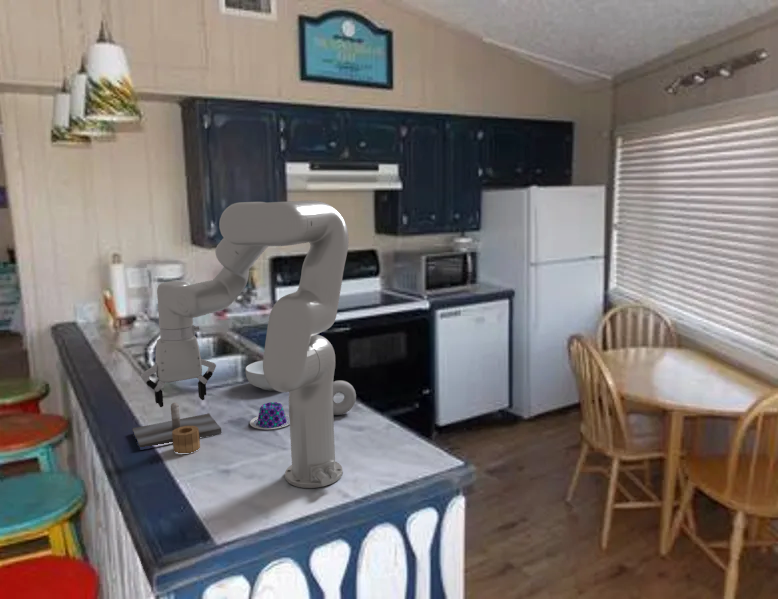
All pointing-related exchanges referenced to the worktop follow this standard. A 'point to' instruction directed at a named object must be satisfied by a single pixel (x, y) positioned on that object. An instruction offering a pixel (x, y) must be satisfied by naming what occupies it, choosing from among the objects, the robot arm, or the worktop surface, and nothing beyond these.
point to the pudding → (270, 416)
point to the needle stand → (163, 431)
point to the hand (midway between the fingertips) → (181, 401)
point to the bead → (186, 439)
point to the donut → (348, 397)
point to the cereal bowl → (257, 375)
